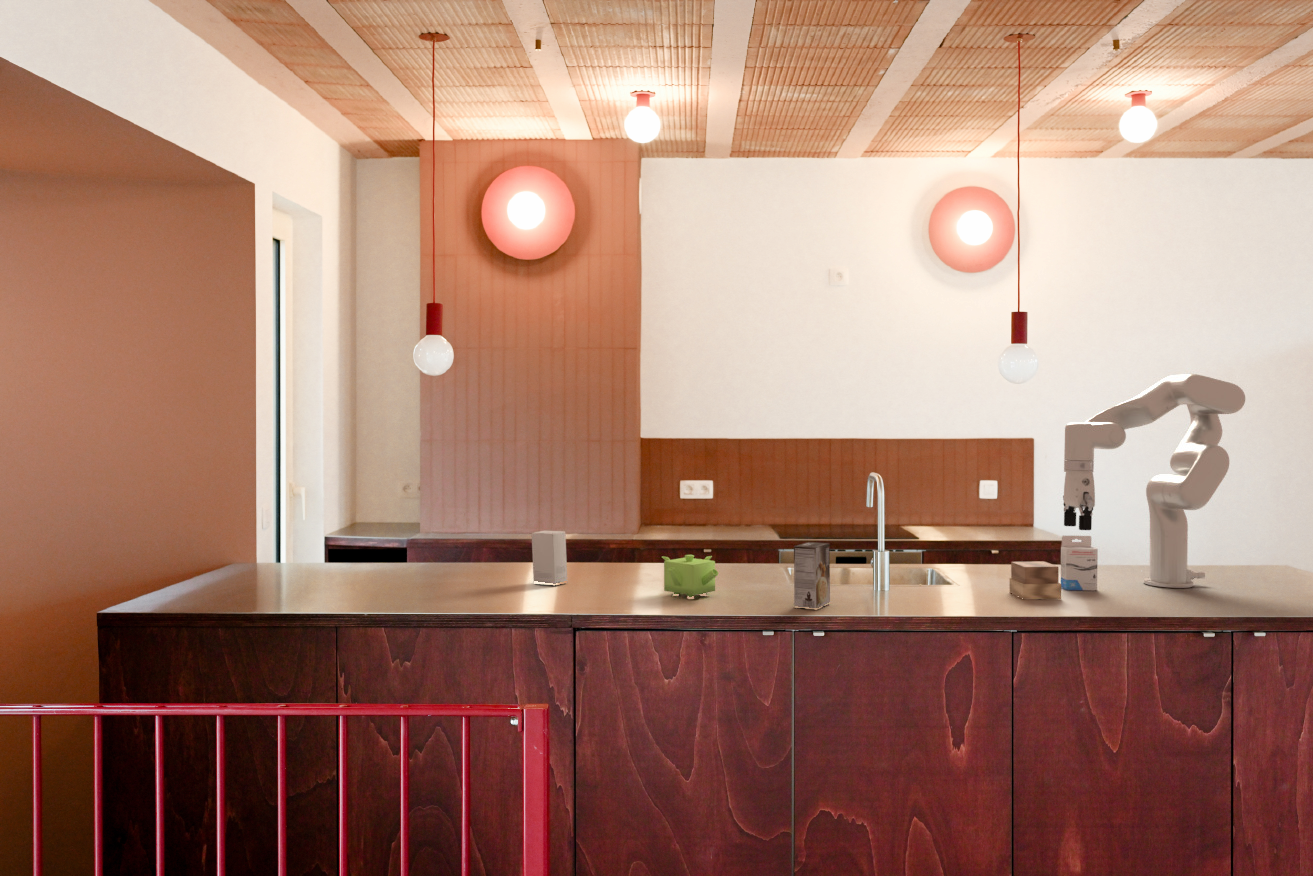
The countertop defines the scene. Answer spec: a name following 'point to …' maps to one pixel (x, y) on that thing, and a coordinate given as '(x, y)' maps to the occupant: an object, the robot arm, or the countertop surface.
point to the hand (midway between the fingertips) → (1077, 528)
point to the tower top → (1035, 572)
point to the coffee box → (811, 574)
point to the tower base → (1035, 590)
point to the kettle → (689, 575)
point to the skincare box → (549, 556)
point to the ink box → (1078, 564)
